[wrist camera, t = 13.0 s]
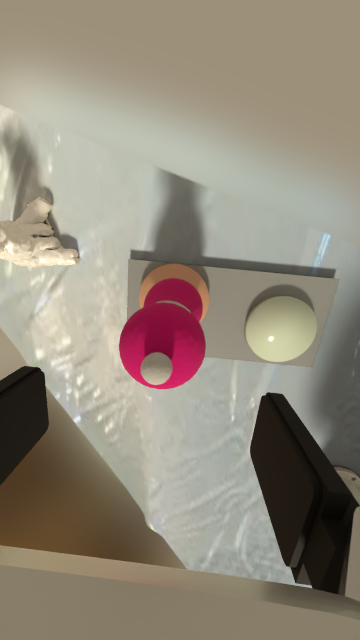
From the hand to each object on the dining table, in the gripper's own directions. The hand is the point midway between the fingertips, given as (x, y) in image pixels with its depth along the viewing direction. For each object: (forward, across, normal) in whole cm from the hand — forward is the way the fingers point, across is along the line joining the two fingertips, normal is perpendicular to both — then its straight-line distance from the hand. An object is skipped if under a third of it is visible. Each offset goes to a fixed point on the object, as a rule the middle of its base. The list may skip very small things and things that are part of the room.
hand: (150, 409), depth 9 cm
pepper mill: (+22, 0, -1) cm, 22 cm away
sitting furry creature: (+25, +21, -7) cm, 33 cm away
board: (+25, -7, +1) cm, 26 cm away
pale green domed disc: (+24, -15, +2) cm, 28 cm away
